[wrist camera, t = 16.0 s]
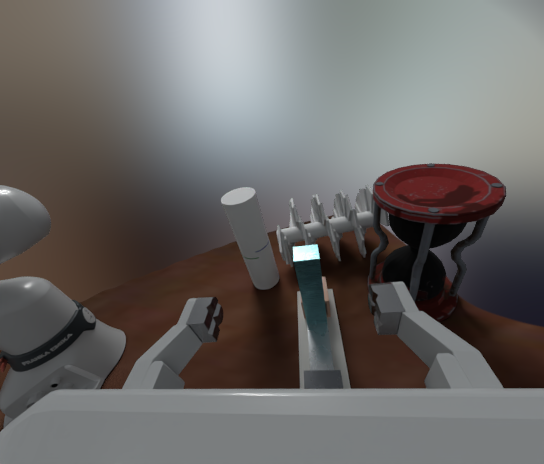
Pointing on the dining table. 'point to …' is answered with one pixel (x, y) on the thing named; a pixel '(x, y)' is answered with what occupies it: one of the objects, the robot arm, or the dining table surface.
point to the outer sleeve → (323, 379)
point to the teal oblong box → (313, 306)
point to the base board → (335, 342)
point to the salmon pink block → (324, 298)
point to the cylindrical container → (251, 236)
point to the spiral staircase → (330, 223)
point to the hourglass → (431, 227)
